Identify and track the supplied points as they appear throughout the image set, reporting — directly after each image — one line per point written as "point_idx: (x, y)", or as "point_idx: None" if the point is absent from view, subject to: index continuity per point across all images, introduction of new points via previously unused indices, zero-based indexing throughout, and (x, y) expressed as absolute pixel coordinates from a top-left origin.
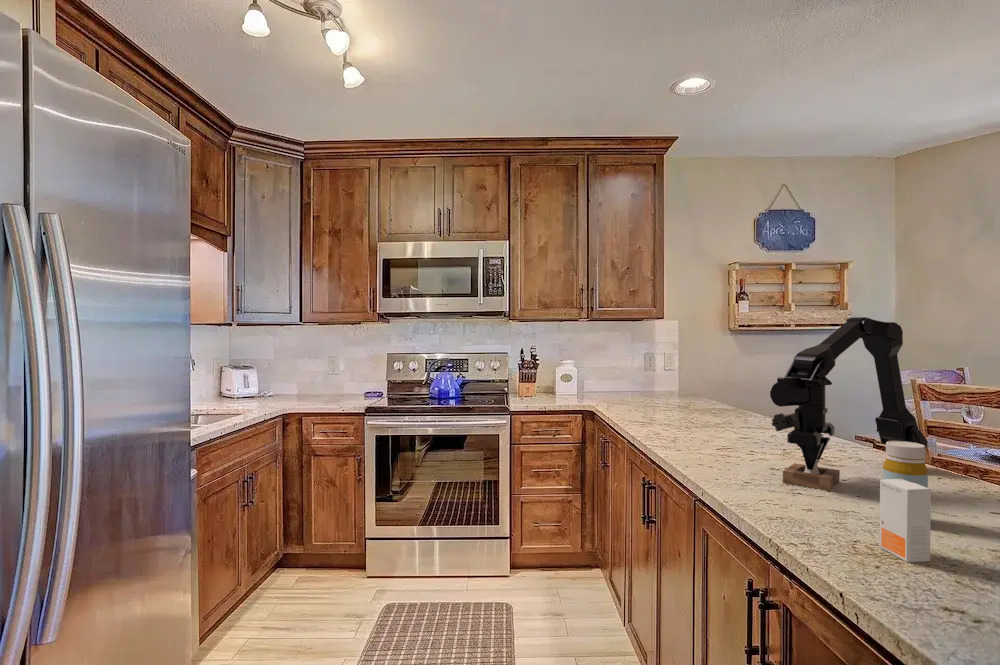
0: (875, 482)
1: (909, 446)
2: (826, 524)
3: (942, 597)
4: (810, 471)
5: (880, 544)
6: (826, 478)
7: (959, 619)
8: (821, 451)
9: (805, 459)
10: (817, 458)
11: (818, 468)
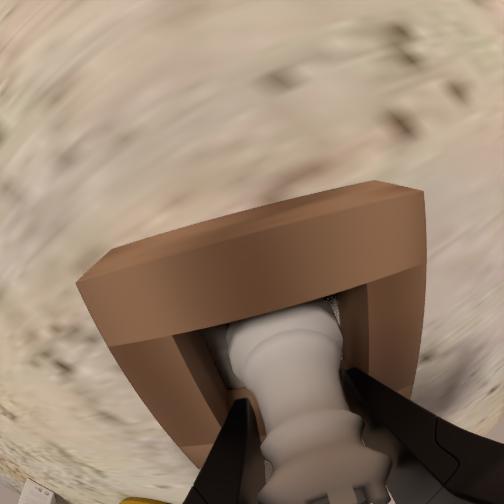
0: (442, 398)
1: None
2: (5, 440)
3: (18, 488)
4: (253, 392)
5: (26, 481)
6: (192, 460)
7: (10, 487)
8: (393, 496)
9: (208, 464)
10: (368, 445)
11: (381, 367)
